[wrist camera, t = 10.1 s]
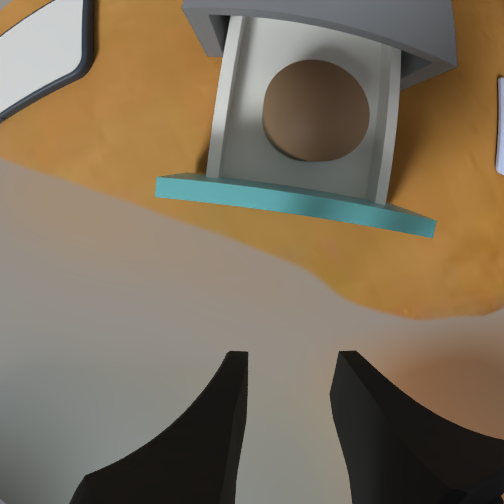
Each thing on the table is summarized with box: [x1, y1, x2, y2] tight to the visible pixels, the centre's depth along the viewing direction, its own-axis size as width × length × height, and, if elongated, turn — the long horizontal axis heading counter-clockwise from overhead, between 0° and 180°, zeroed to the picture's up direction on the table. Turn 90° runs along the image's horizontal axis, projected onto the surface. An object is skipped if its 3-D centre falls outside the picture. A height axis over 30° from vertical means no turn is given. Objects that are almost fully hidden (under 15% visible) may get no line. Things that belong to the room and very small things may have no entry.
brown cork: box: [262, 60, 370, 162], centre depth 13 cm, size 4×4×4 cm
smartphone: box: [0, 0, 94, 123], centre depth 14 cm, size 9×2×16 cm
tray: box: [155, 15, 437, 238], centre depth 12 cm, size 12×12×5 cm
